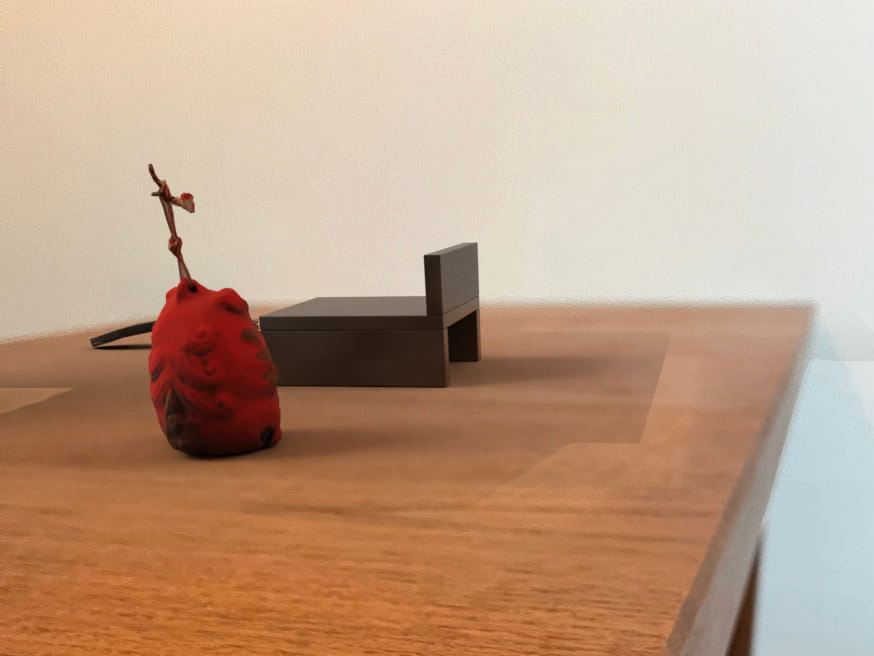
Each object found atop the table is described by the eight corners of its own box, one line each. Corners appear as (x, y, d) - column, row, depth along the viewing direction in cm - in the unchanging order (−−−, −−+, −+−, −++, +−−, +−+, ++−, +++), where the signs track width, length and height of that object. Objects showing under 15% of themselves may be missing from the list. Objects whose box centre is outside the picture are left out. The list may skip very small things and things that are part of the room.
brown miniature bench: (266, 385, 75) (250, 258, 71) (322, 358, 86) (311, 245, 82) (446, 387, 72) (440, 254, 69) (481, 358, 83) (477, 242, 79)
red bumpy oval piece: (310, 437, 60) (280, 159, 53) (235, 467, 54) (192, 160, 48) (210, 428, 63) (171, 165, 56) (130, 456, 57) (75, 166, 51)
